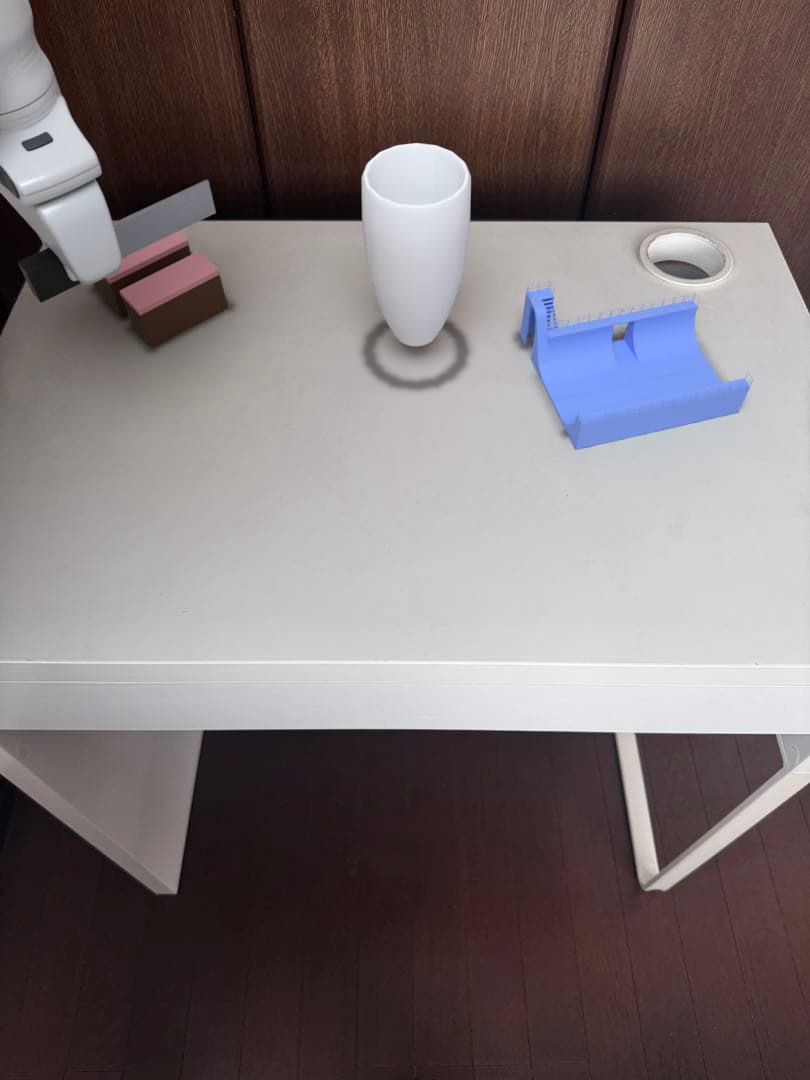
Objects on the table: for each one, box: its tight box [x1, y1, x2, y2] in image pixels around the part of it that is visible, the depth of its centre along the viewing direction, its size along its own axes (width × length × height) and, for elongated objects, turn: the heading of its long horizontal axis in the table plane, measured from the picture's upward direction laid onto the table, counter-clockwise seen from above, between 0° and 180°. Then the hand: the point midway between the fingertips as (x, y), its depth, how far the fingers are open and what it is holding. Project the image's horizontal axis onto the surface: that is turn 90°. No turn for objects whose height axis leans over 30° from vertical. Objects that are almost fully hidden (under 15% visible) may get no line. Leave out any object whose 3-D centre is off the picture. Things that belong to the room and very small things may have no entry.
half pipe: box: [519, 281, 754, 451], centre depth 90 cm, size 18×16×7 cm
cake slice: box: [120, 250, 228, 349], centre depth 96 cm, size 10×4×6 cm, turn 130°
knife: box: [17, 179, 217, 304], centre depth 80 cm, size 19×2×4 cm, turn 129°
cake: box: [93, 231, 192, 318], centre depth 99 cm, size 10×6×6 cm, turn 130°
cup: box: [361, 142, 472, 347], centre depth 86 cm, size 10×10×22 cm
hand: (69, 265), depth 79 cm, fingers closed on knife, 2 cm apart
